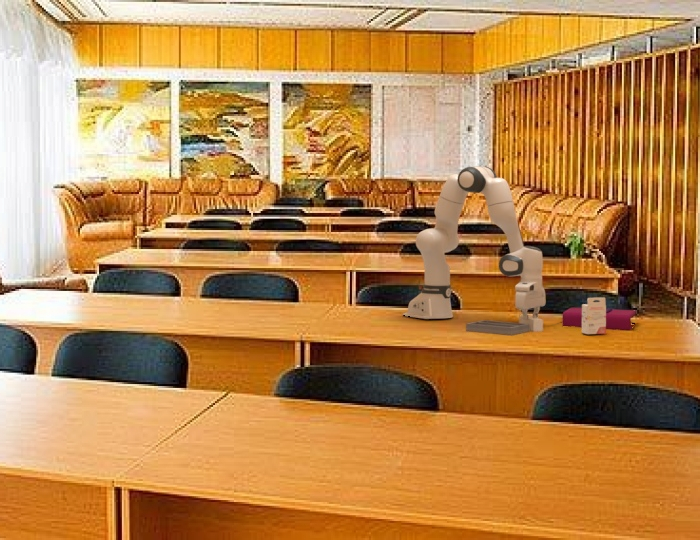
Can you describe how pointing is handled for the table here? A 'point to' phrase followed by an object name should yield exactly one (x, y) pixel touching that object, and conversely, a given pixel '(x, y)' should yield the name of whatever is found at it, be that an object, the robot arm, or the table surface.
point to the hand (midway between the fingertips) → (530, 318)
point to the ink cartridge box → (594, 316)
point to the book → (613, 318)
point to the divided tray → (497, 327)
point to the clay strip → (532, 323)
